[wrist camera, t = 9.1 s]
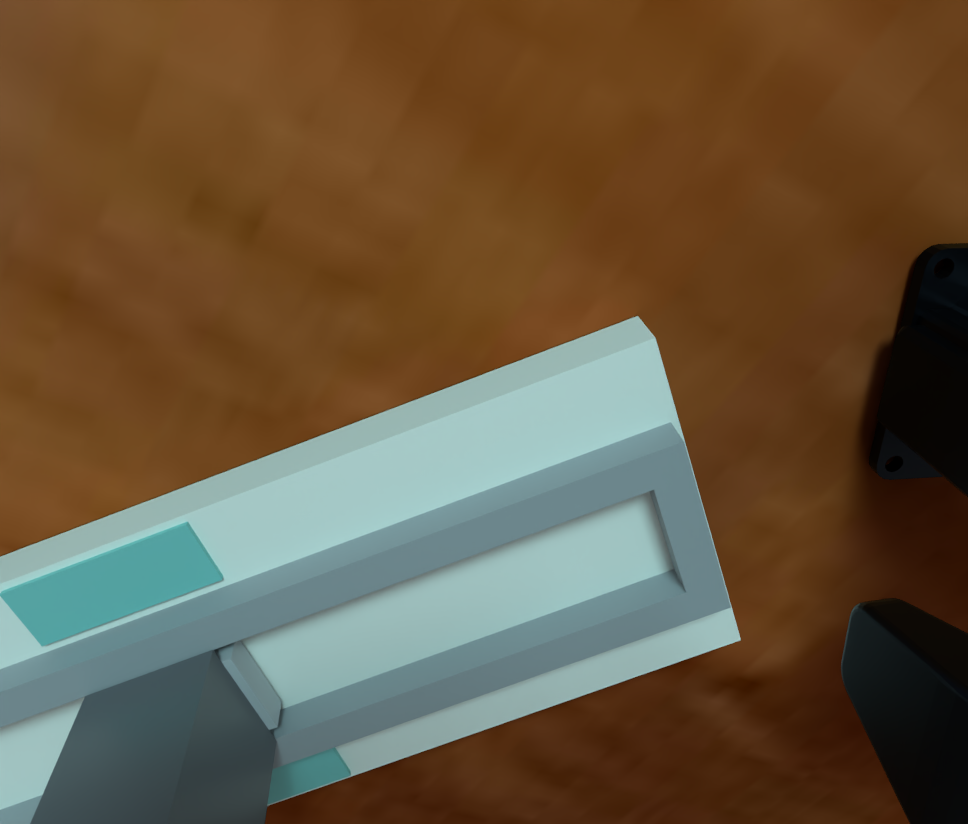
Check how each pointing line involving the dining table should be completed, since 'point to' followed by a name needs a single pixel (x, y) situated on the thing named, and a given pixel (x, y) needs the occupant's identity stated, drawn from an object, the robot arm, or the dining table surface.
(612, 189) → the dining table surface
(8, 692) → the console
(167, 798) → the fader
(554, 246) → the dining table surface
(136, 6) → the dining table surface
